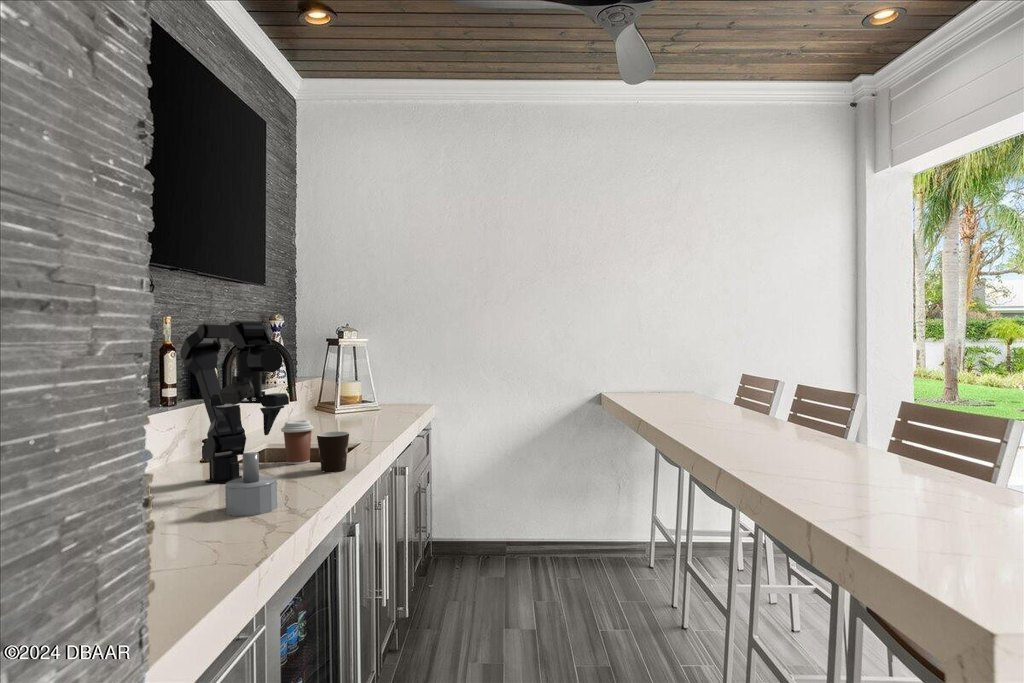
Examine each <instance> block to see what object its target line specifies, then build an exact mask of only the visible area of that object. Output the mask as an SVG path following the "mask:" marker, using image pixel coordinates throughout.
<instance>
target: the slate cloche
mask: <svg viewBox="0 0 1024 683" xmlns="http://www.w3.org/2000/svg"><path fill="white" fill-rule="evenodd" d="M241 456H242V478H239V479H234V480H231V481H229V482H227V483H225V484H224V485H225V487H224V488H225V489H224V490H225V492H224V494H225V515H229V516H233V517H250V516H256V515H262V514H265V513H266V514H267V513H269V512H272V511H274V510H276V509H277V508H278V487H277V484H278V482H277V479H276V477H273V476H269V475H268V476H266V475H260V461H259V460H260V457H259V456H260V454H259V452H257V451H254V452H253V451H250V452H244V454H242V455H241Z"/></svg>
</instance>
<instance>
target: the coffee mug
mask: <svg viewBox="0 0 1024 683" xmlns="http://www.w3.org/2000/svg"><path fill="white" fill-rule="evenodd" d="M349 438H350V432H348V431H325V432H320V433H317V434H316V439H317V448H318V453H319V461H320V467H321V468H320V469H321V472H322V471H324V472H323V473H326V472H334V473H340V472H344V471H346V470H347V469H346V468H347V460H348V450H349V449H348V448H349V440H350V439H349Z"/></svg>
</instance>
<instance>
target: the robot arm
mask: <svg viewBox="0 0 1024 683" xmlns="http://www.w3.org/2000/svg"><path fill="white" fill-rule="evenodd" d="M204 339H213V341H204ZM220 339H226V340H228V341H229V342H230V343H233V344H235V345H236V346H235V347H233V349H232V350H231V353H232V354H235V368H236V369H235V371H236V374H235V375H234V376H232V379H231V384H228V385H226V386H225V387H223V388H222V386H221V384H220V381H219V377H218V374H217V370H216V366H217V363H218V361H219V357H218V356H219V355H218V354H219V352H221V349H222V344H221V341H220ZM275 346H276V345H275V343H273V340H272V338H271V337H270V334H269V333H268V330H267V329H266V326H264V323H263V322H262V321H260V320H235V321H231V322H229V323H228V324H226V323H225V324H219V323H216V322H215V323H213V322H211V323H210V322H207V323H205V322H204V323H201V324H199V325H198V326H197V329H196V330H195V331H194V332H193V333H191V334H190V335H189V336H187V337H186V338H185V340H184V342H183V343H182V346H181V348H180V351H179V352H180V353H179V354H180V358H181V359H182V362H183V363H184V366H185V367H186V369H187V370H188V371H190V372H191V373H192V374H193V375H194V376H195V378H196V381H197V384H198V386H199V390H200V394H201V397H202V400H203V403H204V407H205V409H206V413H207V415H208V419H209V423H210V425H209V427H208V431H207V434H206V436H207V437H206V438H207V440H206V442H205V443H204V445H203V447H202V449H201V453H202V458H203V459H205V460H206V459H207V460H208V462H209V463H208V464H209V478H208V479H205V480H204V482H205V483H217V484H219V483H222V484H226V483H227V482H229V481H231V480H234V479H239V478H243V475H240V462H239V456H243V455H242V454H244V453H245V447H246V442H247V436H246V434H245V430H244V427H243V425H242V421H241V419H240V416H239V415H240V409H241V408H240V405H241V404H261V406H262V407H260V408H259V410H260V411H261V413H262V415H263V433H264V436H268V435H269V434H270V432H271V430H272V427H273V425H274V422H276V419H277V417H278V416H279V413H280V412H281V410H282V409H284V408H285V406H286V405H290V398H289V395H288V394H287V393H286V392H281V393H280V392H279V393H278V392H275V393H272V392H271V393H268V394H266V391H264V390H263V387H262V384H263V383H262V380H265V379H266V375H265V374H262V373H275V372H277V371H279V370H280V369H281V367H282V365H283V361H284V359H283V357H282V353H281V352H280V351H279V350H278V349H276V347H275Z"/></svg>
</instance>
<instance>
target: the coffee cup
mask: <svg viewBox="0 0 1024 683" xmlns="http://www.w3.org/2000/svg"><path fill="white" fill-rule="evenodd" d="M314 429H315V427H314V425H312V424H311V421H310V420H306V419H305V420H304V419H299V420H297V419H295V420H289V421H285V422H284V426H283V427H281V428H280V431H281V432H282V433H283V440H284V448H285V458H286V464H287V465H290V464H298V465H305V464H309V463H310V462H311V460H310V459H311V446H312V445H311V442H312V431H314Z"/></svg>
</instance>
